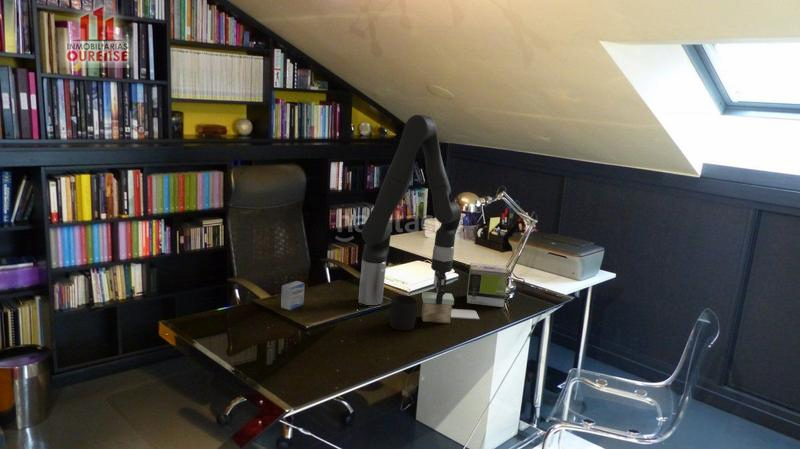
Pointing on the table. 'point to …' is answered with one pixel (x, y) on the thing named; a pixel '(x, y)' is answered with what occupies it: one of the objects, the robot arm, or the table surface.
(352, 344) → the table surface
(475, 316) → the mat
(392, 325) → the pen holder
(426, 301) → the lid
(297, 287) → the medicine box
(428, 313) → the box
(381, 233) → the robot arm
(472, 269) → the tea box
